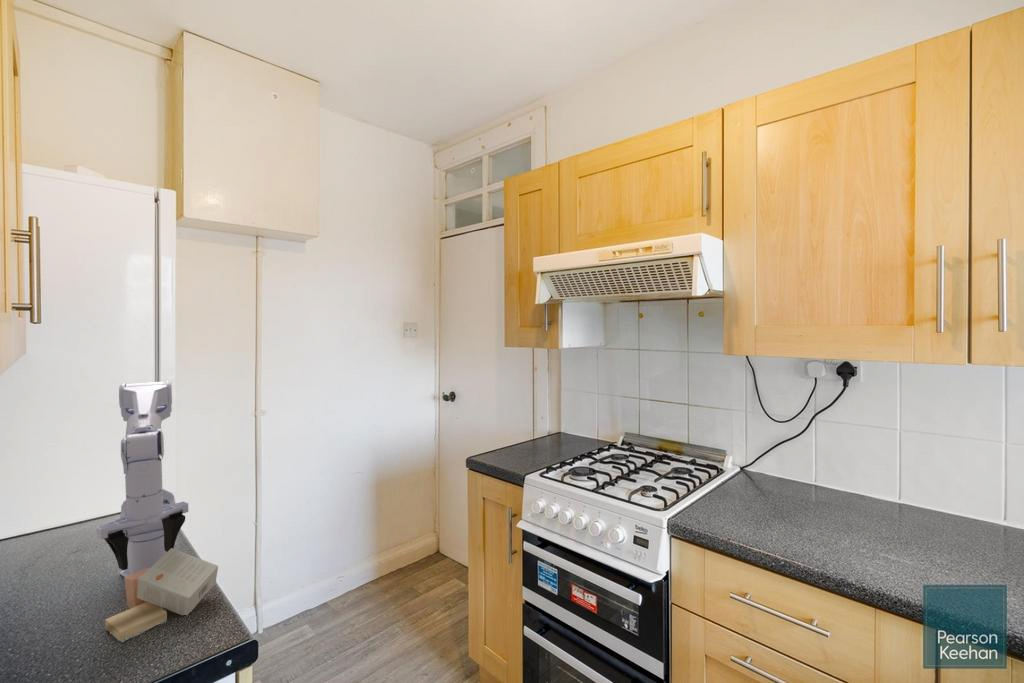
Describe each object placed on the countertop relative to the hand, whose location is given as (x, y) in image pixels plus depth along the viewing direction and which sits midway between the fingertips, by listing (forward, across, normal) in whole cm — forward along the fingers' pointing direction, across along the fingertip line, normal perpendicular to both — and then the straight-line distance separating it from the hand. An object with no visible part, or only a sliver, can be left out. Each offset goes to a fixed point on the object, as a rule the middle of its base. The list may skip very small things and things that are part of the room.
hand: (146, 559), depth 92 cm
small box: (+6, +5, -11) cm, 13 cm away
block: (+9, 0, +1) cm, 9 cm away
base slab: (+9, -4, -6) cm, 12 cm away
